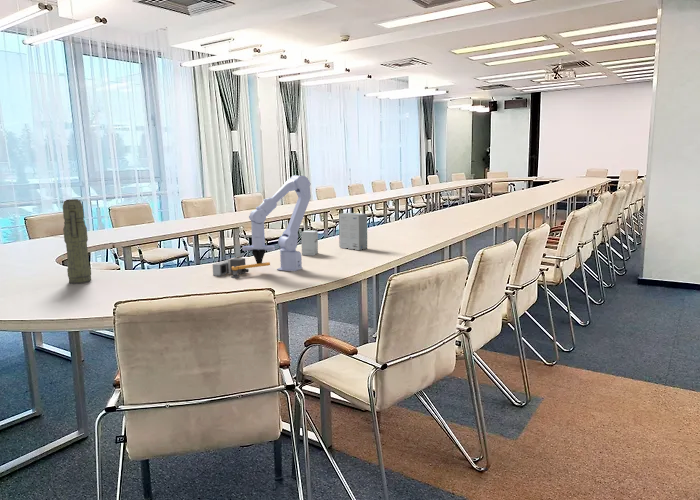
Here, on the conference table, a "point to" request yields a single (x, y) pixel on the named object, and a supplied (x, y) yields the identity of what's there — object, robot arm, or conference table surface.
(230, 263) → the plug
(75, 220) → the carved stone statue
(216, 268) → the socket
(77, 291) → the conference table surface
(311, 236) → the supplement box
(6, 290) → the conference table surface
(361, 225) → the hard drive box
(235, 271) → the lever handle base
